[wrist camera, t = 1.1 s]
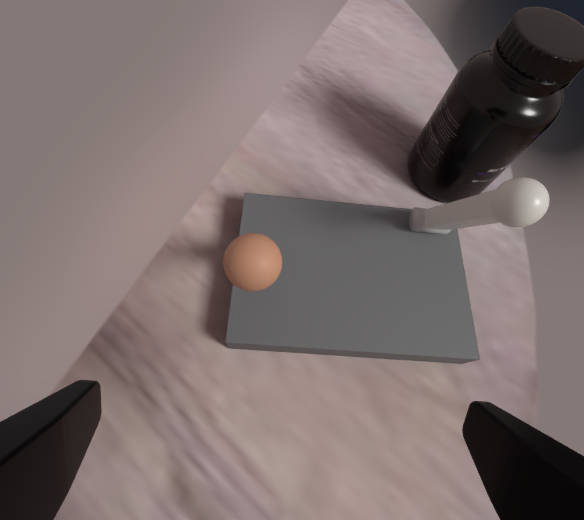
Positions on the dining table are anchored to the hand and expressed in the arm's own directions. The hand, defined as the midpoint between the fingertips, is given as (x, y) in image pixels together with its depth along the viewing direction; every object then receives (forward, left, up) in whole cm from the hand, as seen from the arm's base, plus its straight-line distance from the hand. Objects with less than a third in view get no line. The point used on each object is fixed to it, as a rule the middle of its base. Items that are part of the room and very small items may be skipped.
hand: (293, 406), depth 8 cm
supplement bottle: (+19, -14, -14) cm, 27 cm away
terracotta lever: (+8, +1, -10) cm, 14 cm away
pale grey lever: (+12, -10, -10) cm, 19 cm away
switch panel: (+9, -5, -13) cm, 17 cm away
